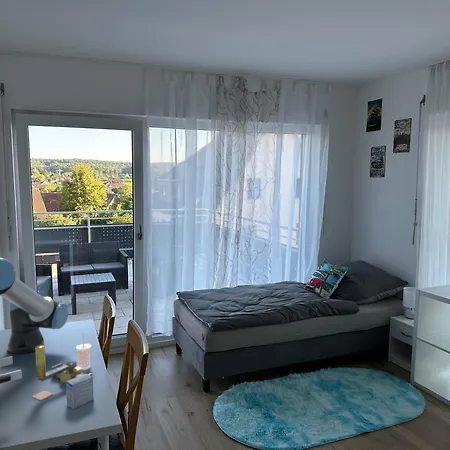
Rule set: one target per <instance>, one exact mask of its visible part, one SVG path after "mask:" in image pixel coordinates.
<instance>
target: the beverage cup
mask: <svg viewBox="0 0 450 450" xmlns="http://www.w3.org/2000/svg"><path fill="white" fill-rule="evenodd" d="M91 349H92V344H91V343H85V334H82V343H80V344H77V345H76V346H75V350H76V355H77V356H76V357H77V364H78V365H77V367H80V368H82V369H83V371H84V370H85V371H86V370H89V369H90V368H91V356H92V355H91V353H92V352H91V351H92V350H91Z"/></svg>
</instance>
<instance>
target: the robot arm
mask: <svg viewBox="0 0 450 450" xmlns="http://www.w3.org/2000/svg"><path fill="white" fill-rule="evenodd" d="M0 297H2V298H3V299H5V300H6V301H9V302H10V305H9V317H10V318H9V319H10V328H11V329H10V330H11V331H10V332H11V334H10V337H9V340H8V345H7V350H8V351H7V352H9V353H11V354H15V355H18V354H19V355H20V354H27V353H28V354H29V353H32V352H36V351H35V347H36V346H39V345H44V346H45V339H44V336H43V334H42V331H41V329H42V328H43V329H51V330H60V329H62V328H63V327H64V326H65V325H66V323H67V321H68V317H69V307H68V304H67V303H64V302H58V301H55V300H54V299H53V298H51V297H50V296H42V295H41V294H39V293H38V292H36V291H35V290H34V289H33V288H31V287H30V286H28V285H27V284H26V283H24V282H23V281H21V280H20V279H19V278H18V277H17V276H16V270H15V266H14V265H13V263H12V262H11V261H10V260H8V259H7V258H3V257H0ZM40 328H41V329H40ZM13 363H14V362H13V356H12V355H10V356H7V357H1V358H0V368H1V367H2V368H3V367H5V366H10V365H13ZM22 378H23V376H22V370H21V369H18V370H13V371H10V372H6V373H2V374H0V385H2V384H5V383H10V382H12V381H16V380H17V381H18V380H20V379H22Z"/></svg>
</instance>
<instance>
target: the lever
mask: <svg viewBox="0 0 450 450" xmlns="http://www.w3.org/2000/svg"><path fill="white" fill-rule="evenodd" d="M45 349H46V348H45V344H44V345H39V346H36V347H35V351H34V352H35V364H36V366H35V367H36V368H35V370H36V378H37V380H38V381H41V382H44V381H46V380H49V379H50V378H51V379H52V377H53V376H55V375H57V374H60V373H62V372H64V371H66V370H68V369H73V368H75V367H76V366H77V367H78V365H77V364H78V362H77V361H74V360H73V361H67V362H65V364H63V366H61V367H58V368H56V369H54V370H52V371H50V370H48V371H49V372H47V369H46V368H47V367H46V366H47V365H46V350H45ZM46 372H47V373H46Z"/></svg>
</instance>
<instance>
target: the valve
mask: <svg viewBox="0 0 450 450" xmlns="http://www.w3.org/2000/svg"><path fill="white" fill-rule="evenodd" d="M63 365H64V363H63V362H61V363H60V362H59V363H58V364H56V365H53V366H51V367H50V370H51V371H52V370H54V369H56V368H58V367H61V366H63ZM83 372H84V370H83V369H82V368H80V367H78V365H77V366H76V367H75V368H73V369H68V370H66V371H64V372H62V373H60V374H57V375H55V376H53V377H51V379H53V380H54V379H56V378H59V379H60V380H59V381H60V384H62V385H65V386H66V382H67V381H69V380H71V379H74V378H76V377H78V376H81V375H84V374H85V373H83ZM87 374H88V375H90V376H91V377H93V373H91V372H90V373H87Z"/></svg>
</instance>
